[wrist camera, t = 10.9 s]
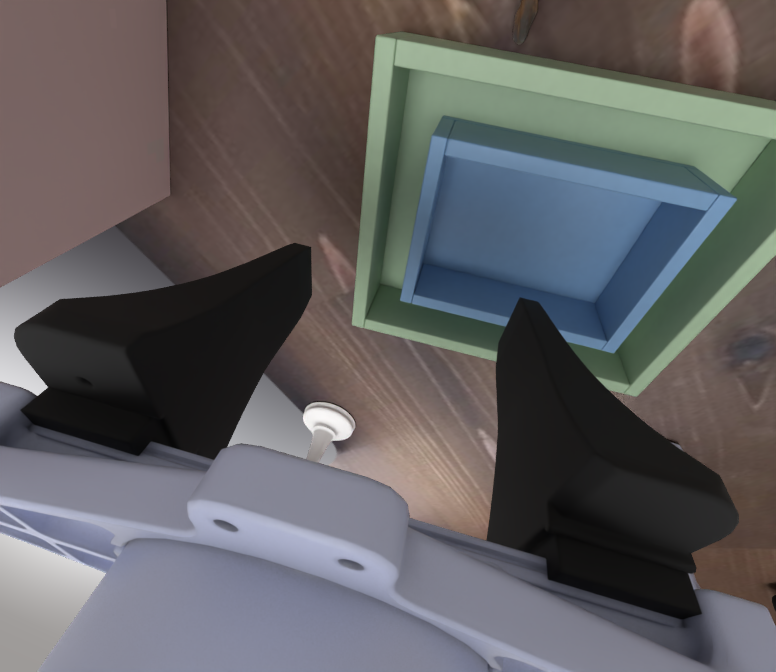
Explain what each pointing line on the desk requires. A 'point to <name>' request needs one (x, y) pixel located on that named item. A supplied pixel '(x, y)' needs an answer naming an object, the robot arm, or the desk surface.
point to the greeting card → (78, 122)
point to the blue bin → (553, 229)
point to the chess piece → (326, 426)
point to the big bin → (572, 123)
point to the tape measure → (774, 602)
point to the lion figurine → (524, 19)
